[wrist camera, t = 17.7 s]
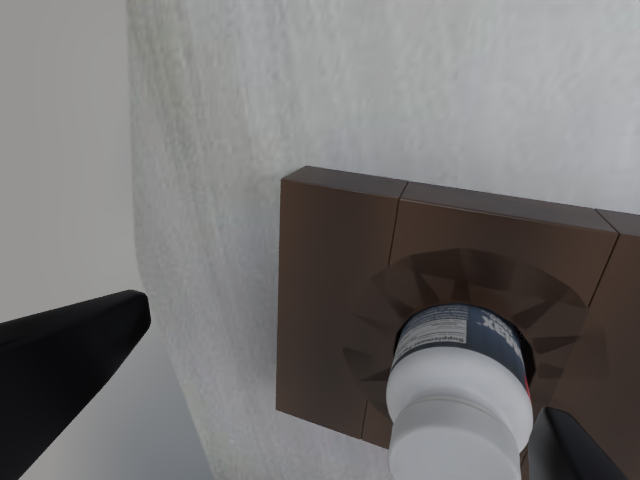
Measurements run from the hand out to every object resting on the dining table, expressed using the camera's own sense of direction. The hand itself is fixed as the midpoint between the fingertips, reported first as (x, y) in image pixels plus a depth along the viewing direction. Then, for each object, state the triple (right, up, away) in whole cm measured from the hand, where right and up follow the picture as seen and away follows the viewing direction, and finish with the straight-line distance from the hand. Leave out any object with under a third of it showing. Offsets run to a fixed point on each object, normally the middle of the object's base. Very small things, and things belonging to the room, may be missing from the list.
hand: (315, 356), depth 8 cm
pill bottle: (+7, -2, +11) cm, 14 cm away
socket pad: (+7, -2, +11) cm, 13 cm away
